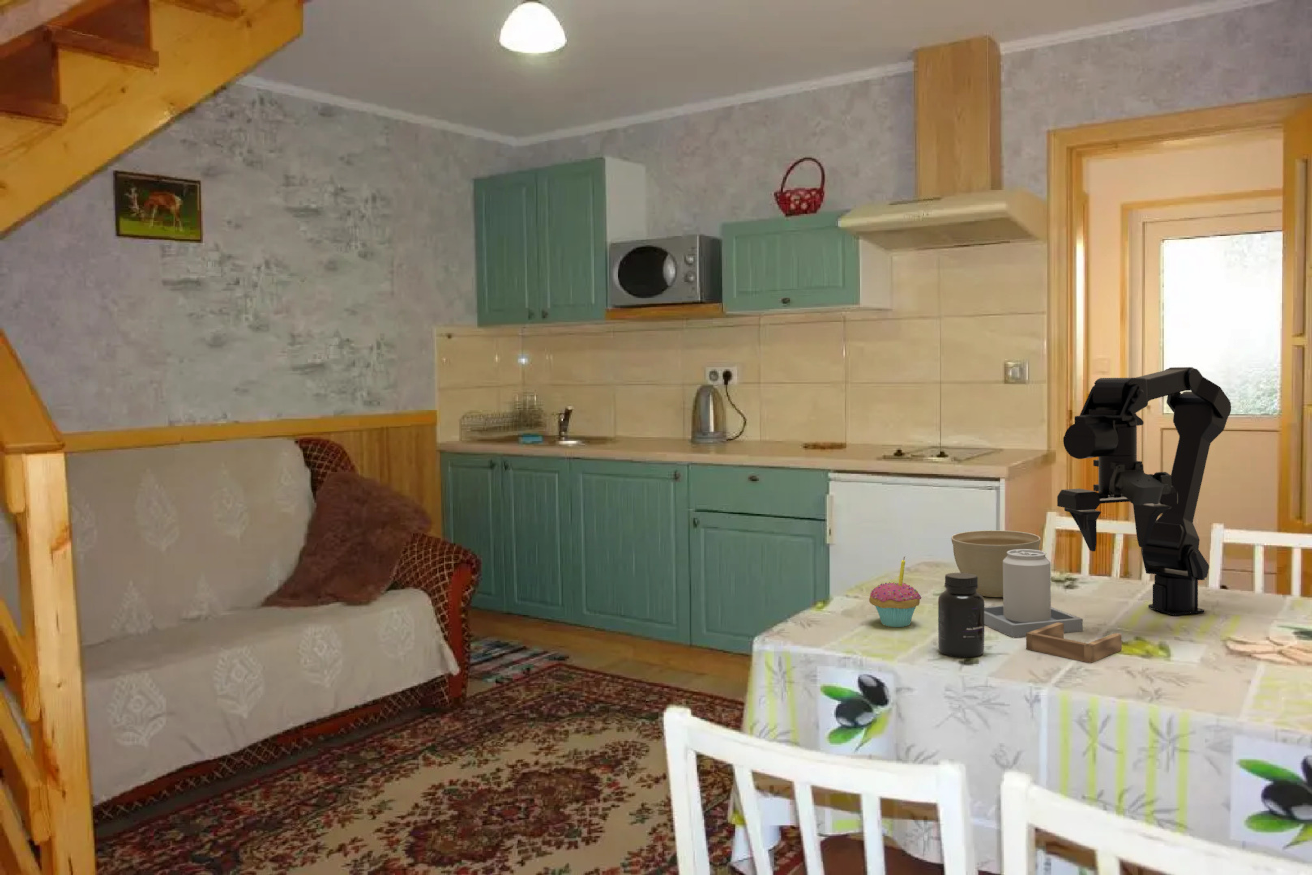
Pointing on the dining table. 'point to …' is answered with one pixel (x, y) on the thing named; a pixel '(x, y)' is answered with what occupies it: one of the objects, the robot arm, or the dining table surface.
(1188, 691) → the dining table surface
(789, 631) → the dining table surface
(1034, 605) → the can
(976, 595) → the supplement bottle
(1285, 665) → the dining table surface
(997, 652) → the dining table surface
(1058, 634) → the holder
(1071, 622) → the tray
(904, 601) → the cupcake
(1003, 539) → the planter bowl
